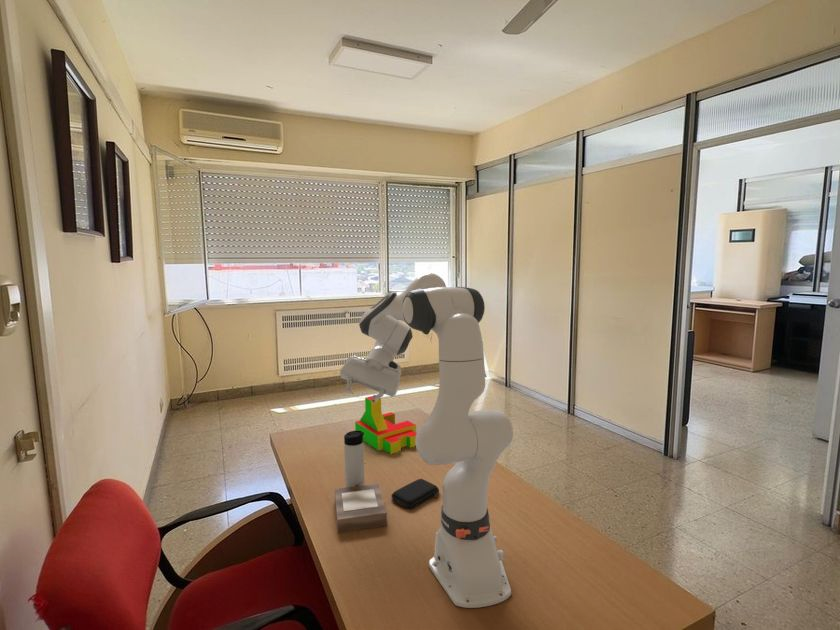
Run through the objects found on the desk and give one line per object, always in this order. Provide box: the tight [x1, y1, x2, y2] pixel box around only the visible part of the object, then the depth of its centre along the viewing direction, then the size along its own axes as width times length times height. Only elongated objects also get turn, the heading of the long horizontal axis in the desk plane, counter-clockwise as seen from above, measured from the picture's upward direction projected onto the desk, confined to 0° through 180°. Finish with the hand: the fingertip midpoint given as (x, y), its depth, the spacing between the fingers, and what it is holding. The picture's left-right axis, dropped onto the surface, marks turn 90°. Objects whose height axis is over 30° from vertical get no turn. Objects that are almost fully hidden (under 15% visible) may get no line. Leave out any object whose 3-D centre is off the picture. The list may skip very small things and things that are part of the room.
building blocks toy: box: [354, 395, 417, 455], centre depth 186 cm, size 19×25×18 cm
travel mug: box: [343, 430, 365, 488], centre depth 146 cm, size 6×7×20 cm
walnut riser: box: [334, 483, 388, 534], centre depth 134 cm, size 17×14×4 cm
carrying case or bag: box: [391, 478, 440, 510], centre depth 143 cm, size 11×3×15 cm
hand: (360, 396), depth 143 cm, fingers open, 8 cm apart
